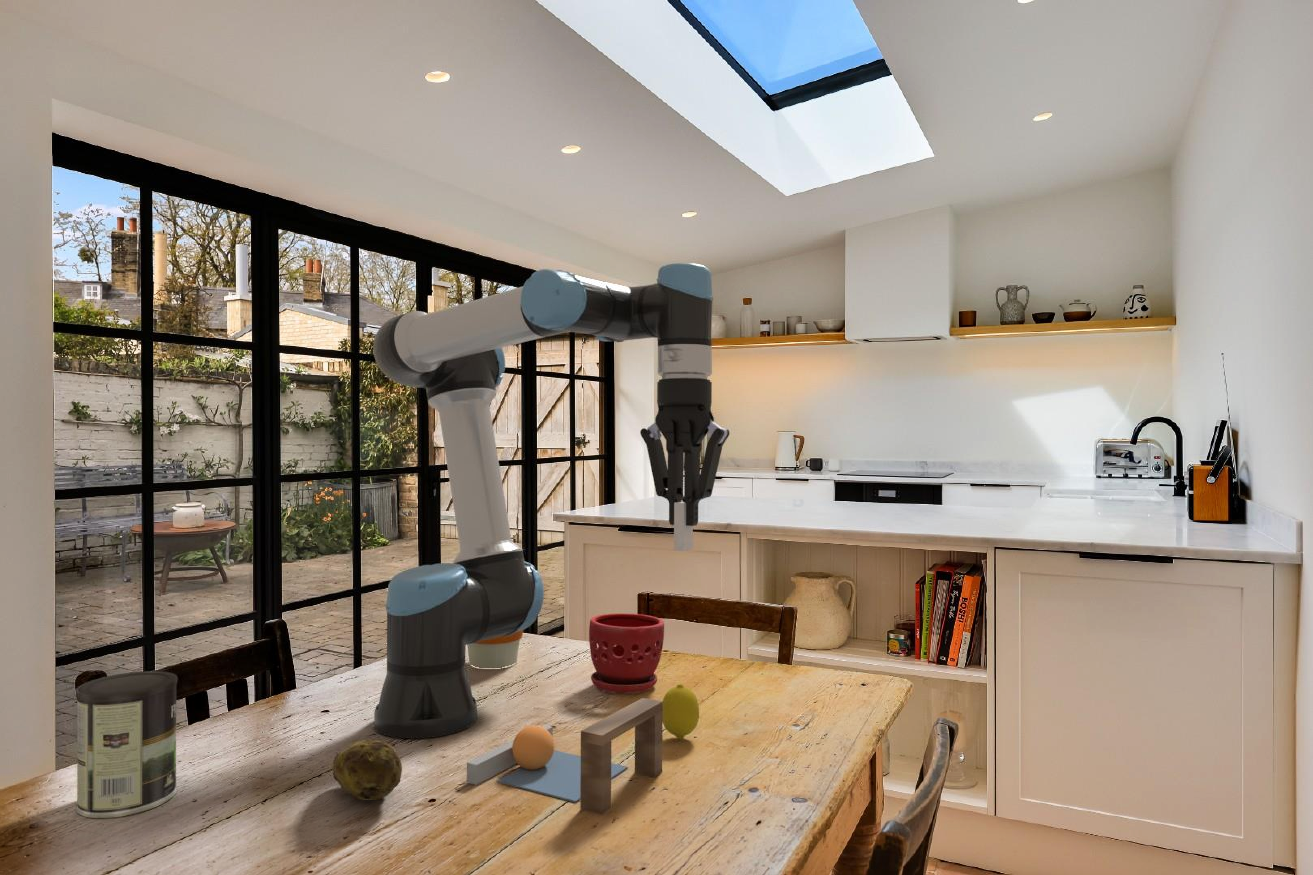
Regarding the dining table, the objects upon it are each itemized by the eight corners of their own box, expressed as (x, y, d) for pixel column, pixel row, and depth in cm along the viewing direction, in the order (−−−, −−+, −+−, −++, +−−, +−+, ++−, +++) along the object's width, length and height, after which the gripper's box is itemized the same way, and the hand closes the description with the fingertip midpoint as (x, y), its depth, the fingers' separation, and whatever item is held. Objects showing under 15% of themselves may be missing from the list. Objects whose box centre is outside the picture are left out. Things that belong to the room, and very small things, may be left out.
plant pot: (639, 703, 138) (639, 630, 138) (574, 690, 144) (574, 621, 144) (677, 683, 149) (677, 616, 149) (615, 672, 156) (615, 608, 156)
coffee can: (163, 775, 107) (164, 665, 107) (187, 800, 100) (188, 682, 100) (67, 799, 100) (67, 681, 100) (84, 828, 93) (85, 701, 93)
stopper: (466, 782, 106) (466, 762, 106) (543, 742, 120) (543, 724, 120) (476, 784, 105) (476, 764, 105) (552, 744, 119) (552, 726, 119)
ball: (544, 751, 106) (526, 784, 107) (568, 737, 111) (551, 769, 112) (514, 723, 108) (497, 756, 110) (539, 711, 113) (523, 743, 114)
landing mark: (497, 781, 106) (497, 780, 106) (553, 751, 116) (553, 749, 116) (575, 802, 100) (575, 800, 100) (627, 768, 110) (627, 766, 110)
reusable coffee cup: (506, 651, 170) (507, 578, 170) (538, 665, 160) (538, 586, 160) (449, 661, 162) (449, 584, 162) (478, 676, 152) (478, 594, 152)
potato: (403, 776, 107) (403, 713, 107) (401, 820, 95) (401, 750, 95) (334, 783, 105) (334, 719, 105) (322, 829, 93) (323, 757, 93)
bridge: (580, 809, 98) (580, 730, 98) (642, 767, 111) (642, 697, 111) (601, 815, 97) (602, 735, 97) (662, 771, 109) (662, 701, 109)
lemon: (695, 747, 118) (696, 690, 118) (657, 744, 119) (657, 688, 119) (701, 733, 123) (702, 679, 123) (664, 731, 124) (665, 677, 124)
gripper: (629, 377, 115) (628, 548, 115) (715, 374, 109) (714, 556, 109) (656, 381, 122) (655, 543, 122) (739, 378, 115) (737, 549, 115)
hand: (683, 549), depth 115 cm, fingers closed
